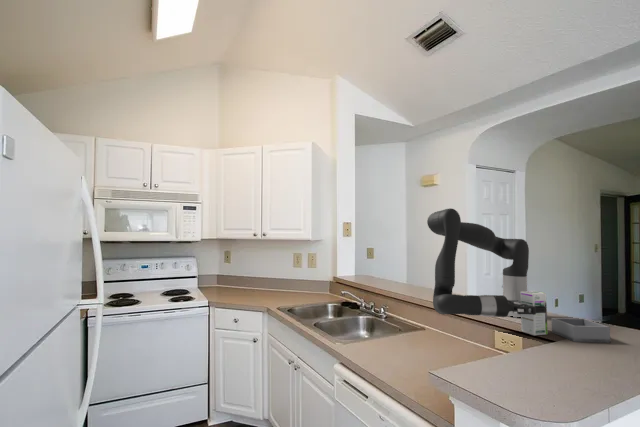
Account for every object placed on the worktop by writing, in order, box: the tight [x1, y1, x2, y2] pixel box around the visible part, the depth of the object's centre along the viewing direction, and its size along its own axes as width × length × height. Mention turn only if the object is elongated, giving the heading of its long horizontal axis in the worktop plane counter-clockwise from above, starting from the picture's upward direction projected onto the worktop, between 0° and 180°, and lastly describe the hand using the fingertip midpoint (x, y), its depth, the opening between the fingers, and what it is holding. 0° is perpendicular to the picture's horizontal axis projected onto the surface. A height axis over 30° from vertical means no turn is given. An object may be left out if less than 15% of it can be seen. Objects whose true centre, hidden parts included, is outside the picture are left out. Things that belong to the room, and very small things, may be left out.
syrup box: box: [520, 290, 548, 336], centre depth 125 cm, size 6×6×14 cm
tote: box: [550, 317, 611, 344], centre depth 121 cm, size 12×12×5 cm
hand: (539, 307), depth 125 cm, fingers closed on syrup box, 7 cm apart
